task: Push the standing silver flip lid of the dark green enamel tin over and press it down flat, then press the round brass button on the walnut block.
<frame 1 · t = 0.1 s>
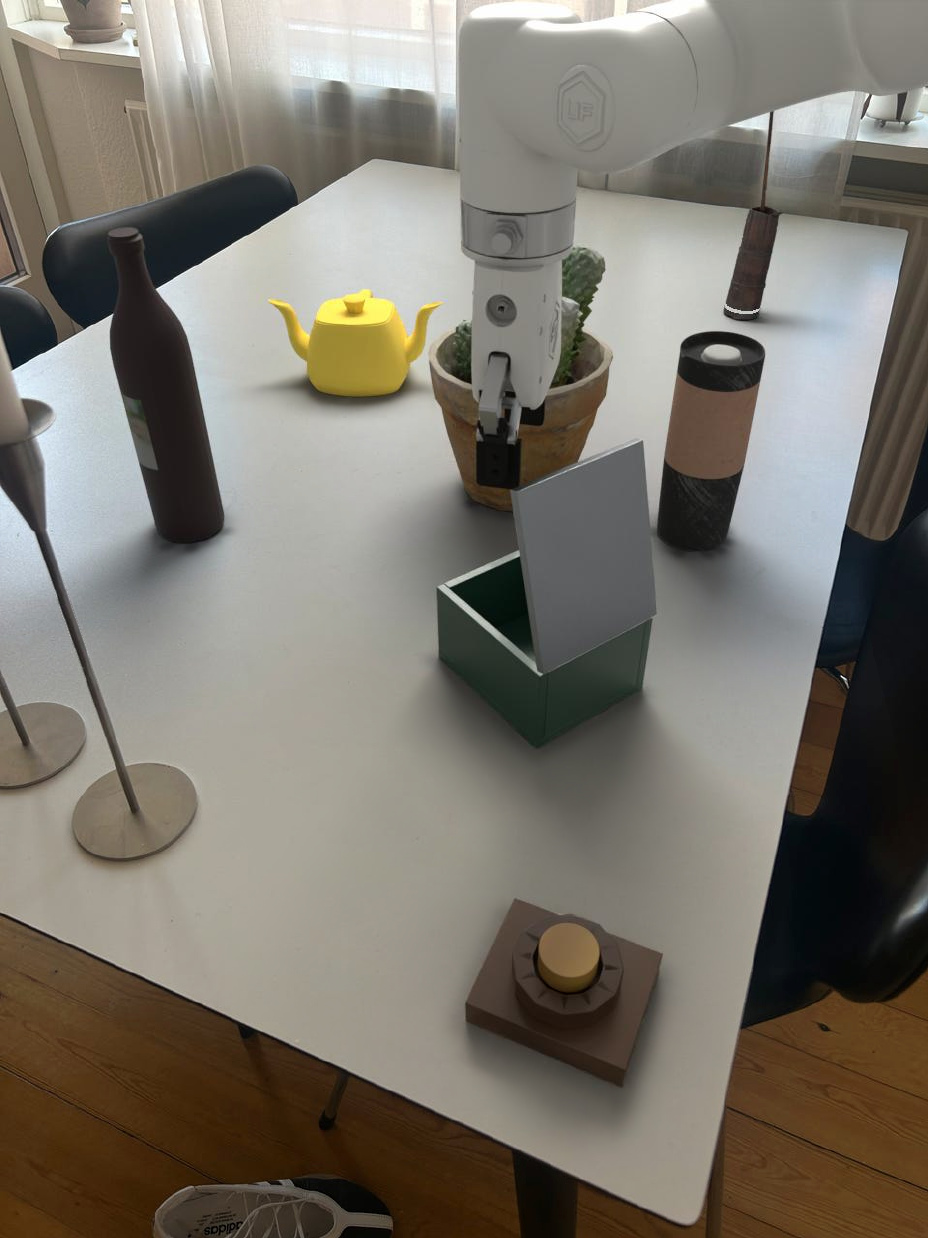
hand: (511, 452, 75), 19 cm above the table, tool pointing down, fingers open, 9 cm apart
tin: (538, 672, 83), on the table
travel mug: (691, 533, 99), on the table
button block: (564, 996, 61), on the table
button: (568, 957, 58), point 4 cm above the table, slide at 0.1 cm
potted plant: (514, 486, 107), on the table
butter churn: (747, 316, 141), on the table
wine bottle: (191, 526, 101), on the table
teapot: (362, 373, 128), on the table
tin lid: (589, 557, 70), point 15 cm above the table, hinge at 75.0°
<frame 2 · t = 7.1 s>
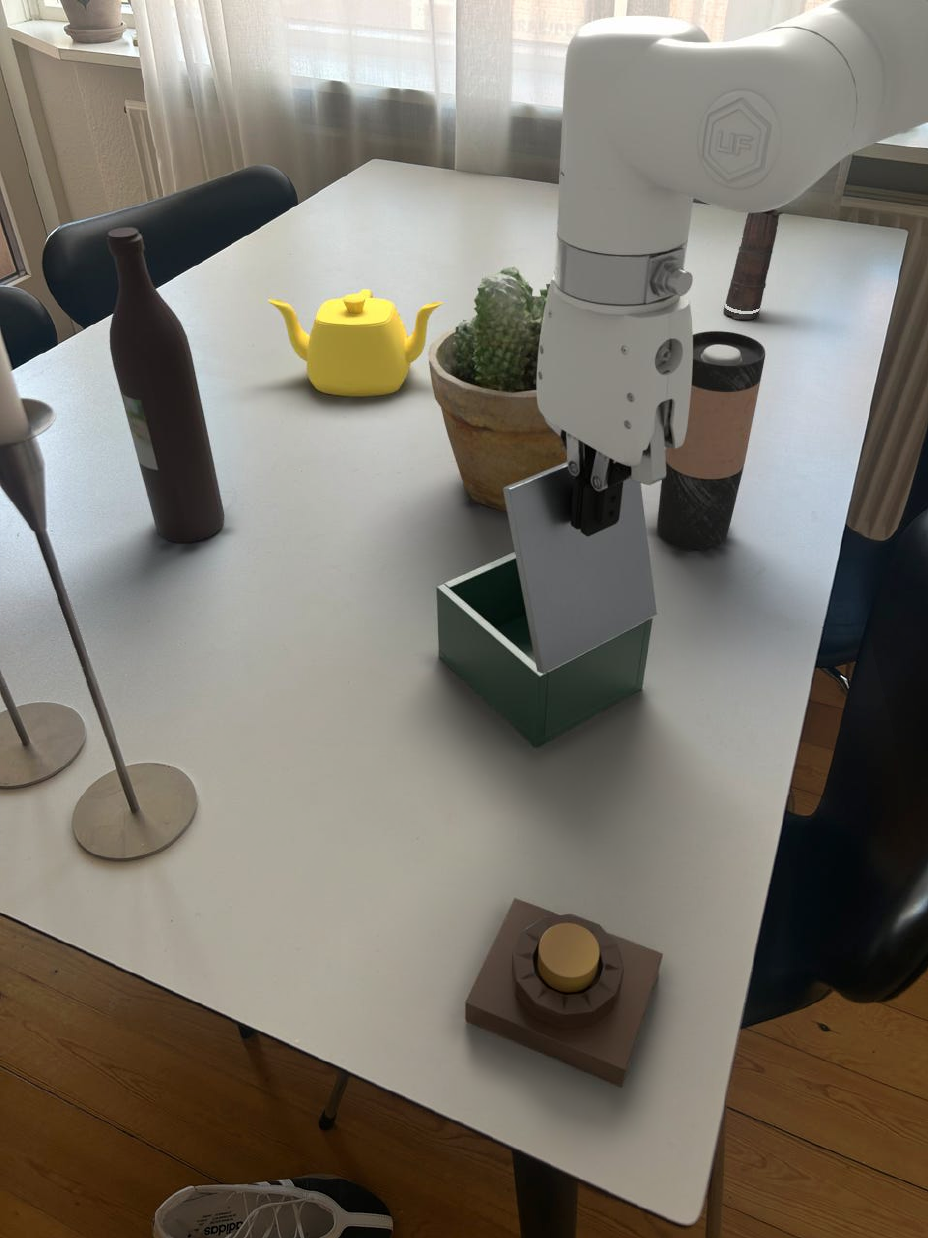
hand: (594, 524, 68), 18 cm above the table, tool pointing down, fingers closed
tin lid: (585, 555, 71), point 15 cm above the table, hinge at 71.6°, touching gripper
everything else where it was.
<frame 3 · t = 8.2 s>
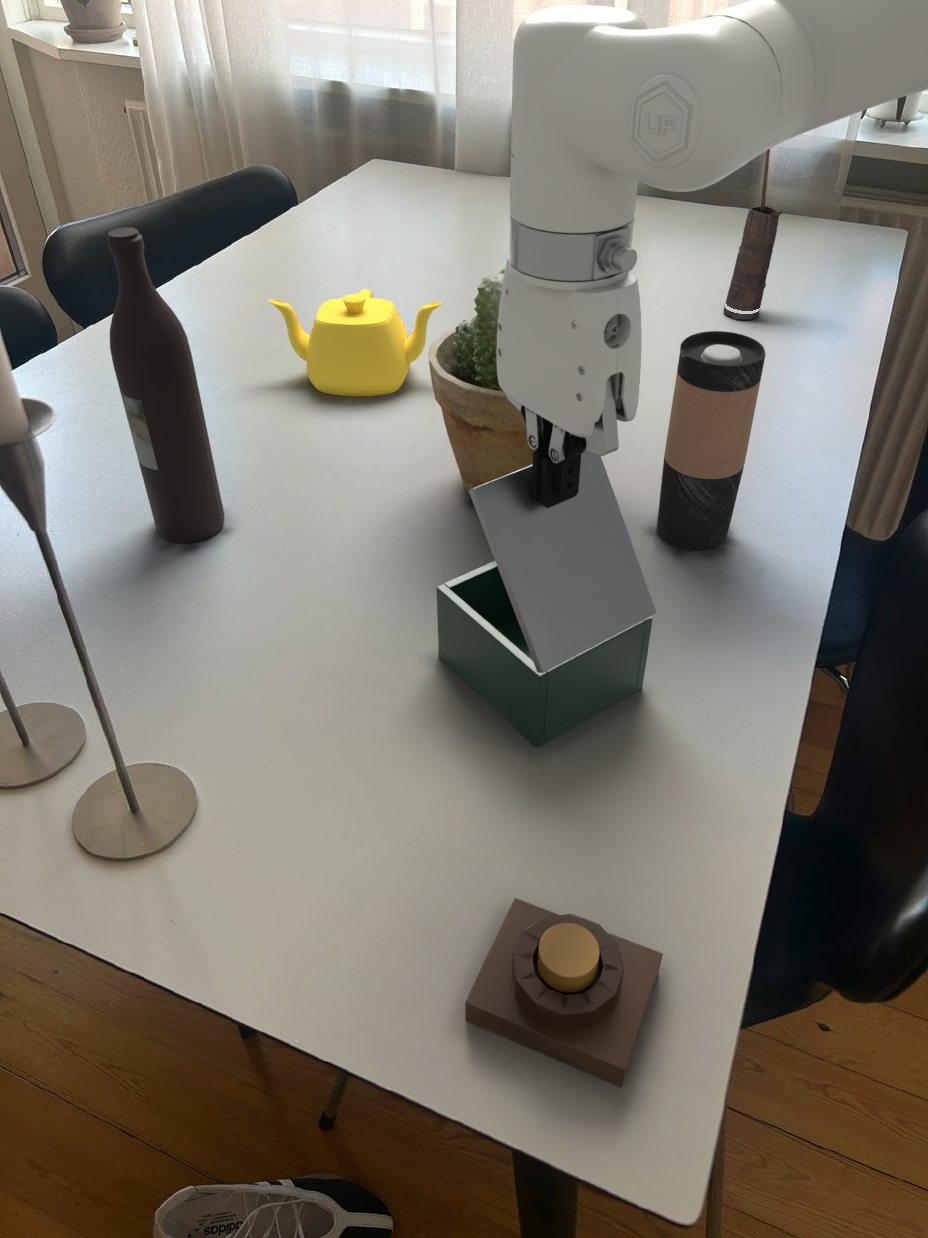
hand: (554, 497, 71), 18 cm above the table, tool pointing down, fingers closed
tin lid: (566, 554, 73), point 14 cm above the table, hinge at 53.3°, touching gripper
everything else where it was.
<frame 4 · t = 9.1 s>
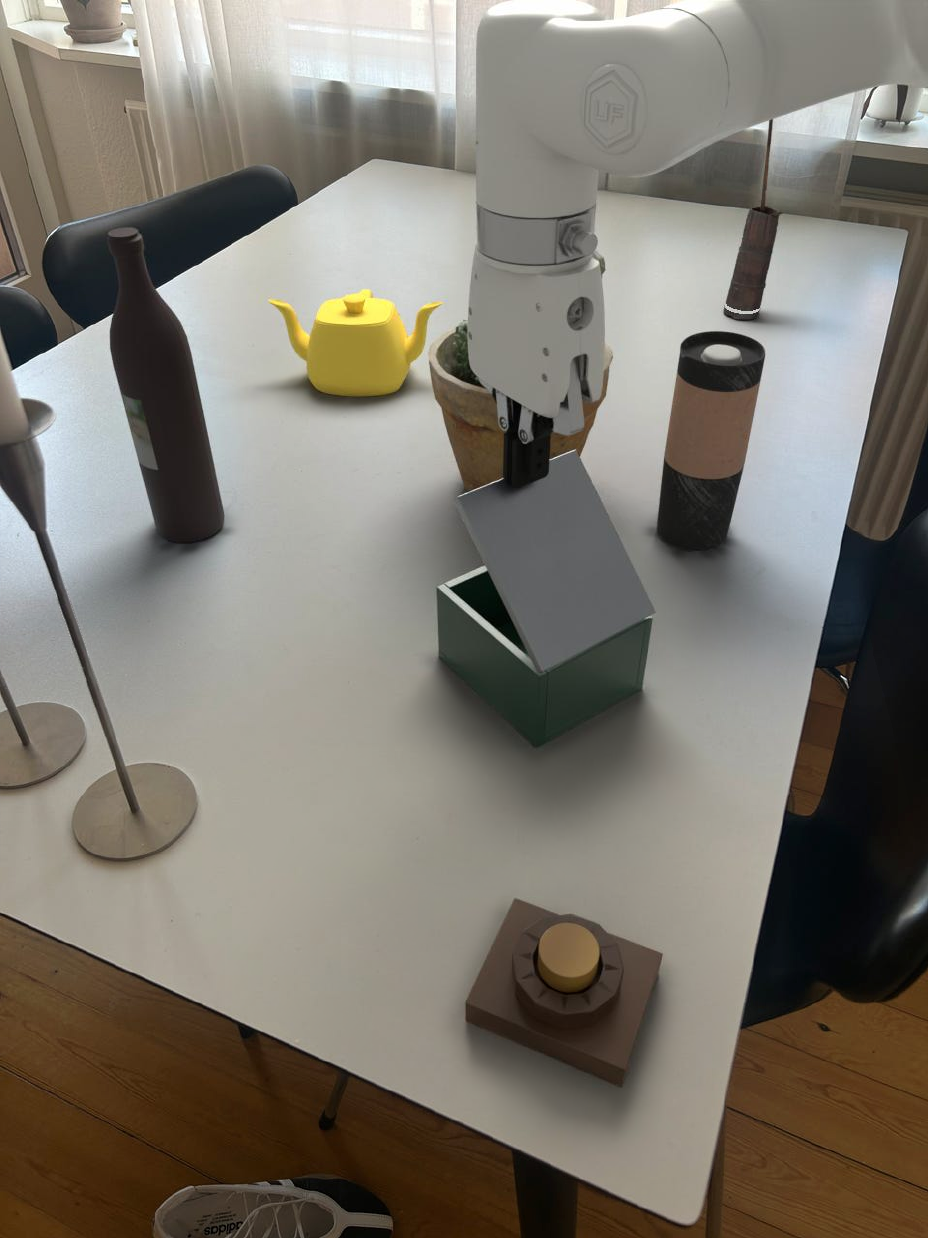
hand: (525, 477, 73), 18 cm above the table, tool pointing down, fingers closed
tin lid: (557, 557, 74), point 13 cm above the table, hinge at 42.6°, touching gripper
everything else where it was.
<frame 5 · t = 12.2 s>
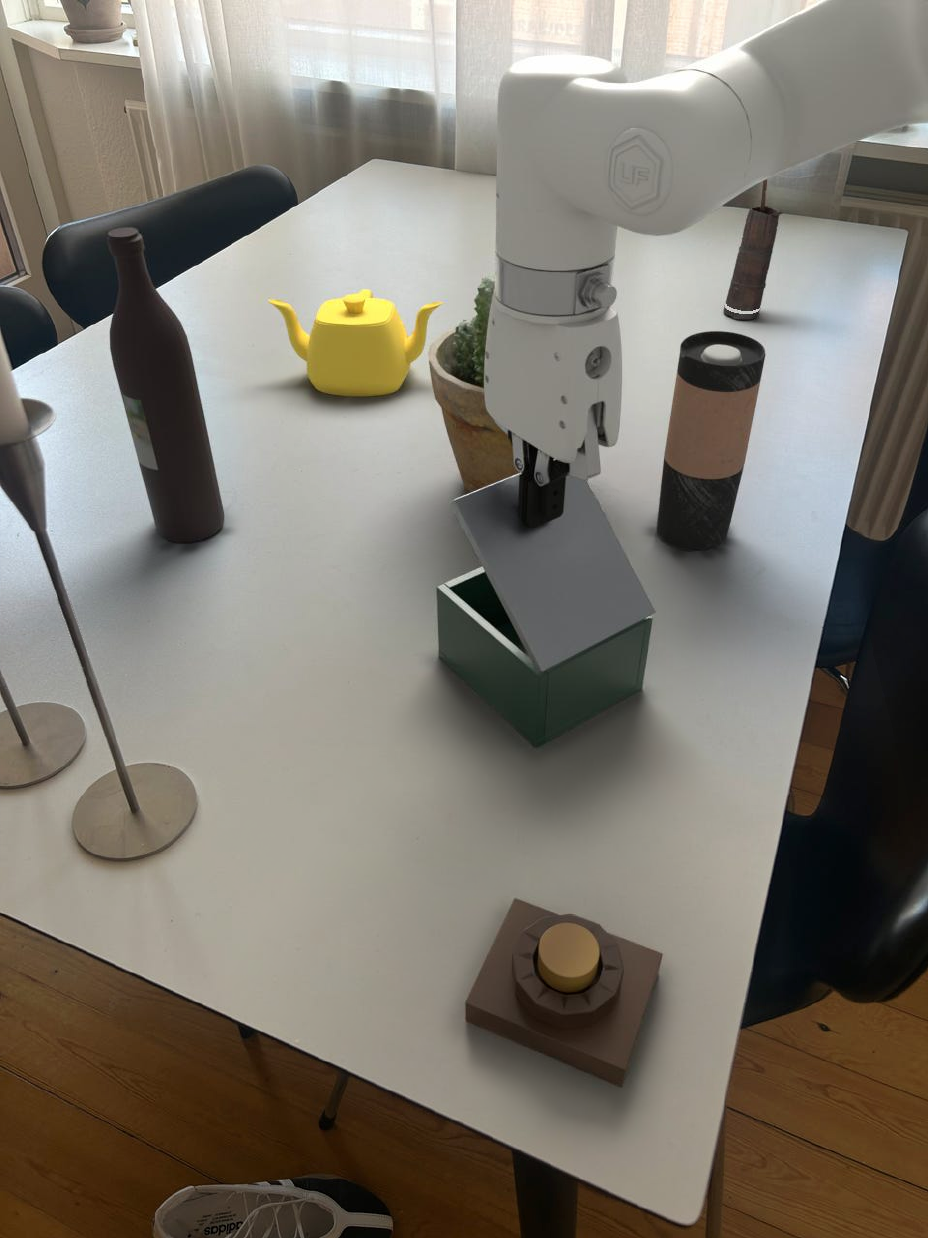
hand: (540, 517, 74), 16 cm above the table, tool pointing down, fingers closed
tin lid: (555, 559, 74), point 13 cm above the table, hinge at 39.8°, touching gripper
everything else where it was.
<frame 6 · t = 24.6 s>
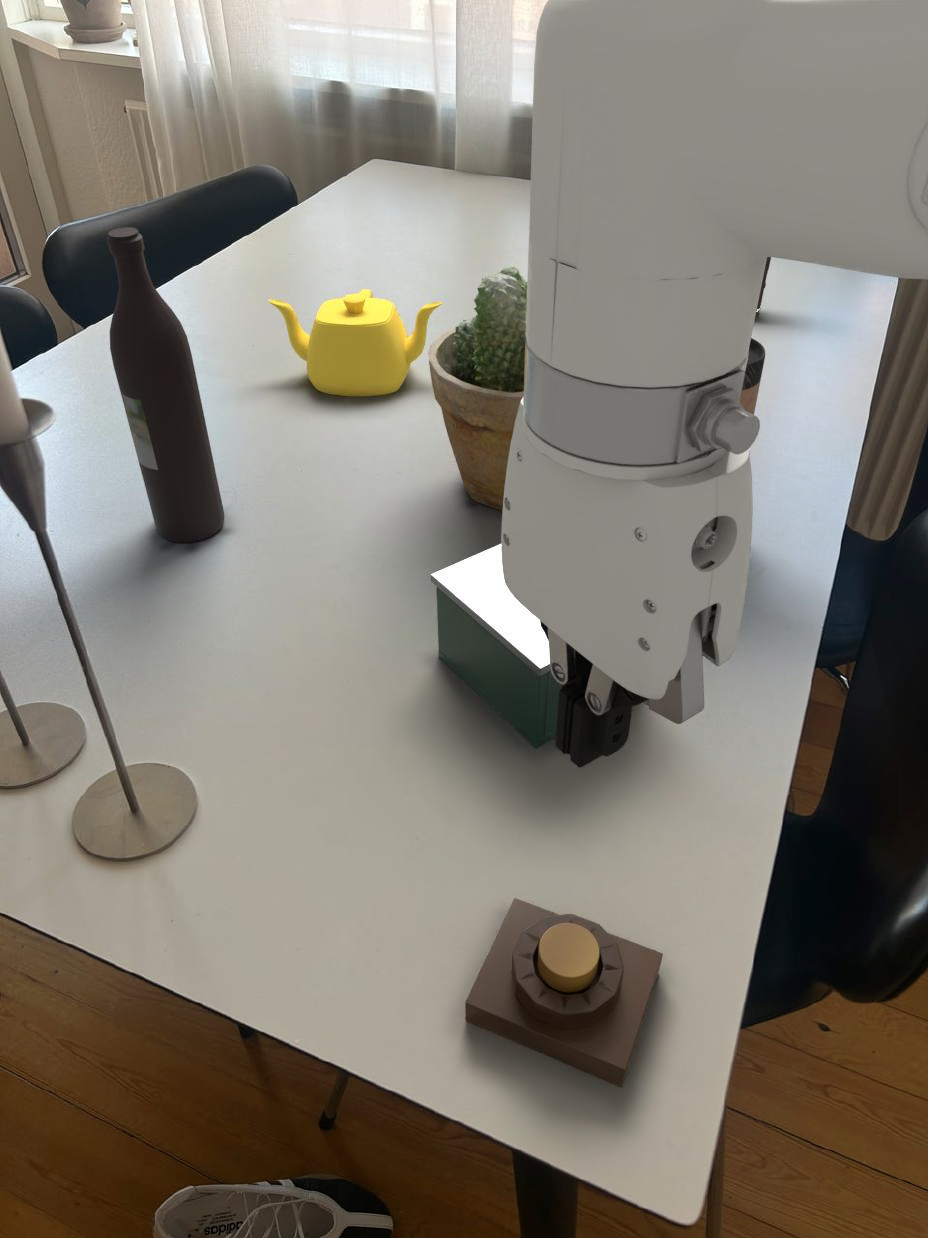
hand: (591, 744, 46), 23 cm above the table, tool pointing down, fingers closed
tin lid: (539, 595, 78), point 8 cm above the table, hinge at -0.2°
everything else where it was.
at the end: tin lid at +0° (first picture: +75°); button pushed in 1.1 cm at the most during the clip, back to where it started at the end; button slide at 0.1 cm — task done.
